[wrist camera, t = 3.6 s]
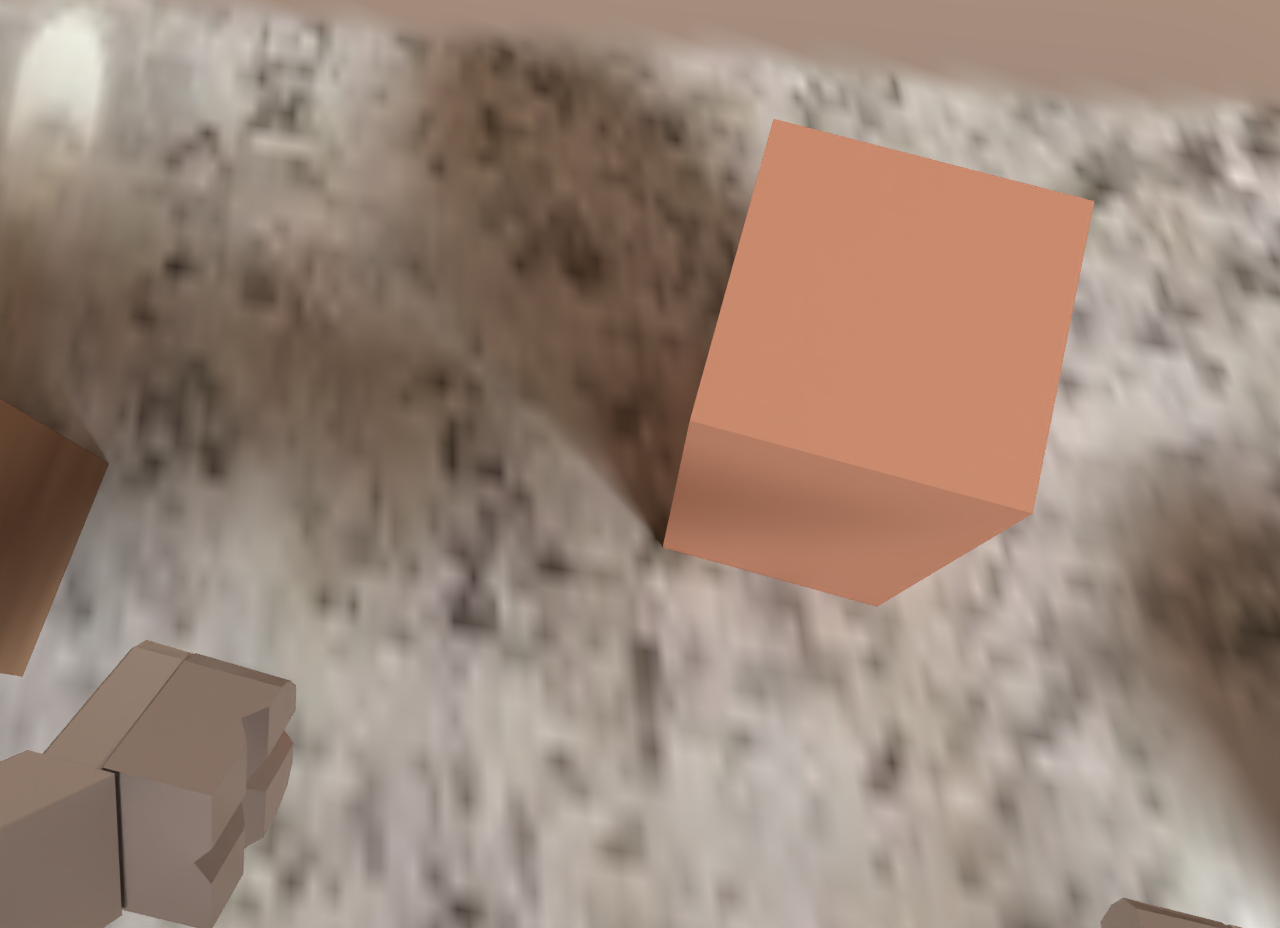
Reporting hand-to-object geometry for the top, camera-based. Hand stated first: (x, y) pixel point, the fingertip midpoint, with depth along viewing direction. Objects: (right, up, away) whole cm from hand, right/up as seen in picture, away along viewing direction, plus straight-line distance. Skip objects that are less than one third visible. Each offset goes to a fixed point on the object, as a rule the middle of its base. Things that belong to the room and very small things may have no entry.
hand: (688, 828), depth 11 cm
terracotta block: (+3, +3, +12) cm, 13 cm away
